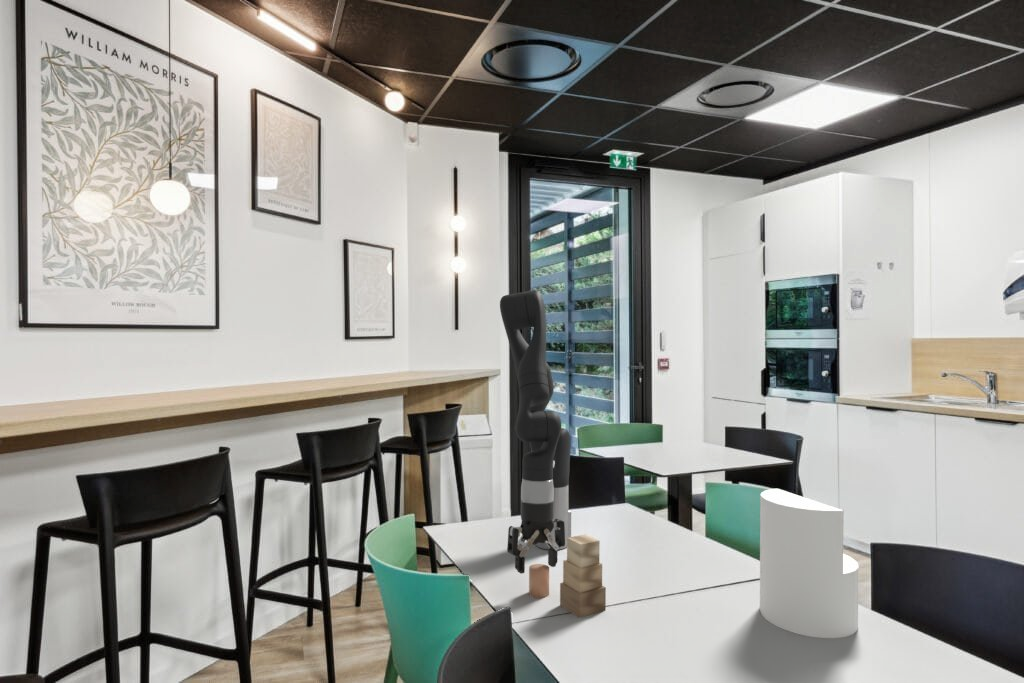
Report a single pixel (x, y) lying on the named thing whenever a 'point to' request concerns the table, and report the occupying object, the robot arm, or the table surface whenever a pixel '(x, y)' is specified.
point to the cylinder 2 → (806, 567)
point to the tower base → (582, 600)
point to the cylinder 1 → (539, 581)
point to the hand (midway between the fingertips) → (536, 569)
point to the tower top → (583, 550)
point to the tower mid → (582, 576)
